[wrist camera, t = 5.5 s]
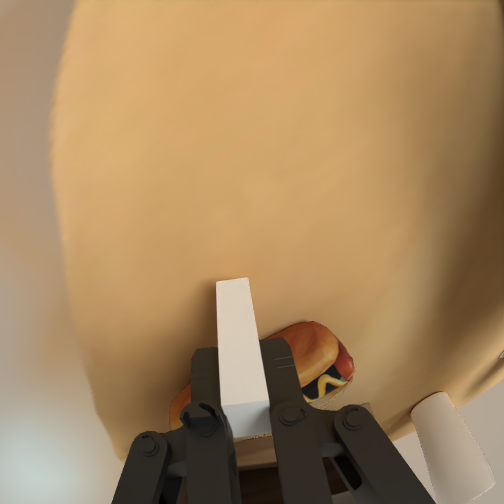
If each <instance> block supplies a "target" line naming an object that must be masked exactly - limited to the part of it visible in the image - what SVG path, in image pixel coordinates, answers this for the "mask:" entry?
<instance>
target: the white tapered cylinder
mask: <svg viewBox="0 0 504 504" xmlns="http://www.w3.org/2000/svg"><path fill="white" fill-rule="evenodd" d="M411 419H412V421H413V424H414V426H415V428H416V431H417V434H418V437H419V440H420V444H421V447H422V450H423V453H424V457H425V460H426V464H427V467H428V471H429V475H430V478H431V482H432V486H433V489H434V492H435V495H436V498H437V500H438V503H439V504H467V503H469V502H470V501H472V500H474V499H476V498H477V497H479V496H480V495H482V494H483V493H485V492H486V491H488V490H489V489H490V488H492V487H493V486H494V485H495V484H496V482H495V479H494V476H493V473H492V470H491V468H490V465H489V463H488V461H487V459H486V457H485V455H484V453H483V452H482V450H481V448H480V446H479V445H478V443H477V442H476V440H475V438H474V437H473V435H472V433H471V432H470V430H469V429H468V427H467V425H466V424H465V422H464V421H463V419H462V418H461V416H460V414H459V413H458V411H457V410H456V408H455V407H454V405H453V403H452V401H451V399H450V398H449V396H448V394H447V393H445V392H438V393H435V394H433V395H431V396H429V397H427V398H425V399H424V400H422V401H421V402H420V403H418V404H417V405H416V406H415V407H414V408H413V410H412V412H411Z"/></svg>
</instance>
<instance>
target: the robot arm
mask: <svg viewBox="0 0 504 504" xmlns="http://www.w3.org/2000/svg"><path fill="white" fill-rule="evenodd" d="M216 299H217V329H218V347H210V348H201V349H197V350H196V352H195V354H194V355H193V357H192V363H191V371H192V372H191V403H189V404H187V405H186V406H185V407H184V408H183V410H182V411H181V413H180V417H179V418H180V420H181V422H182V423H183V425H182V426H181V427H180V428H178V429H175V430H173V431H170V432H167V433H164V434H159V433H157V432H155V431H146V432H143V433H141V434H139V435H138V436H137V437H136V438H135V439H134V441H133V443H132V445H131V448H130V451H129V454H128V456H127V459H126V462H125V465H124V468H123V471H122V474H121V477H120V480H119V482H118V486H117V488H116V491H115V494H114V497H113V500H112V503H111V504H181V500H182V496H183V492H184V488H185V484H186V480H187V503H188V504H242V501H241V492H240V484H239V475H238V466H237V456H236V450H235V447H234V441H233V437H234V438H236V437H245V436H253V435H260V434H267V433H272V436H273V441H274V449H275V454H276V460H277V466H278V472H279V478H280V483H281V489H282V495H283V500H284V504H333V500H332V496H331V492H330V488H329V484H328V480H327V476H326V472H325V468H324V464H323V460H322V457H329V458H330V460H331V461H332V463H333V465H334V466H335V468H336V470H337V471H338V473H339V475H340V476H341V478H342V480H343V481H344V483H345V484H346V486H347V488H348V489H349V491H350V493H351V494H352V496H353V497H354V499H355V501H356V502H357V504H436V503H435V502H434V500H433V499H432V497H431V496H430V495H429V493H428V492H427V490H426V489H425V488H424V486H423V485H422V483H421V482H420V481H419V480H418V478H417V477H416V475H415V474H414V473H413V471H412V470H411V468H410V467H409V465H408V464H407V463H406V461H405V460H404V459H403V458H402V456H401V454H400V453H399V452H398V450H397V449H396V448H395V446H394V445H393V443H392V442H391V441H390V439H389V438H388V436H387V435H386V434H385V432H384V431H383V430H382V428H381V427H380V425H379V424H378V423H377V421H376V420H375V418H374V417H373V416H372V414H371V413H370V412H369V411H368V410H367V409H366V408H365V407H362V406H360V405H348V406H344V407H343V408H341V409H340V410H339V411H330V410H321V409H317V408H314V407H312V406H311V405H310V404H308V403H307V401H306V400H305V398H304V396H303V393H302V389H301V385H300V381H299V377H298V374H297V370H296V366H295V362H294V358H293V355H292V351H291V347H290V345H289V344H288V342H287V341H286V340H285V339H284V338H283V337H277V338H271V339H265V340H258V334H257V328H256V322H255V316H254V310H253V304H252V299H251V293H250V287H249V281H248V277H246V278H239V279H232V280H225V281H218V282H216Z"/></svg>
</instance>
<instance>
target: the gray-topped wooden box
mask: <svg viewBox="0 0 504 504" xmlns="http://www.w3.org/2000/svg"><path fill="white" fill-rule="evenodd" d="M360 406H362V407H365V408H366V409H367V410H368V411H369V412H370V413H371V414H372V416H373V417H374V415H373V412H372V410H371V407H370V404H369V403H366V404H362V405H360ZM374 418H375V417H374ZM234 447H235V450H236V456H237V466H238V475H239V484H240V492H241V501H242V504H284V500H283V495H282V489H281V483H280V478H279V472H278V466H277V460H276V454H275V449H274V441H273V436H270V437H263V438H256V439H248V440H241V441H237V442H234ZM322 460H323V464H324V468H325V472H326V476H327V480H328V484H329V488H330V492H331V496H332V500H333V504H357V502H356V501H355V499H354V497H353V496H352V494H351V493H350V491H349V489H348V488H347V486H346V484H345V483H344V481H343V480H342V478H341V476H340V475H339V473H338V471H337V470H336V468H335V466H334V465H333V463H332V461H331V460H330V458H329V457H322ZM181 504H188V503H187V480H186V484H185V488H184V492H183V496H182V500H181Z"/></svg>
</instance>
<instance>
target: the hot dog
mask: <svg viewBox="0 0 504 504" xmlns="http://www.w3.org/2000/svg"><path fill="white" fill-rule="evenodd" d="M277 337H283V338H284V339H285V340H286V341H287V342H288V344H289V345H290V347H291V351H292V355H293V358H294V362H295V366H296V370H297V374H298V377H299V381H300V385H301V389H302V393H303V396H304V398H305V400H306V401H307V403H308V404H310V405H311V406H312V407H314V408H319V407H321V406H322V405H324V404H326V403H328V402H330V401H331V400H332V399H334V398H335V397H336V396H337V395H339V394H340V393H341V392H342V391H344V390H345V389H346V388H347V387H348V386H349V384H350V383H351V382H352V379H353V374H354V372H355V368H354V363H353V359H352V357H351V356H350V355H349V353H348V352H347V350H346V348H345V347H344V346H343V344H342V343H341V342H340V341H339V339H338V338H337V337H336V336H335V335H334V334H333V333H332V332H331V331H330V330H329V329H328V328H327V327H325V326H323V325H321V324H319V323H316V322H314V321H311V322H306V323H301V324H296V325H292V326H290V327H288V328H287V329H285V330H283V331H281V332H279V333H277V334H275V335H273V336H270V337H268V338H266V339H271V338H277ZM264 340H265V339H264ZM189 403H191V383H189V384H188V385H187V386H186V387H185V388H184V389H183V390H182V391H181V392H180V393H179V394H178V395H177V396H176V397H175V398H174V399H173V400H172V401H171V406H170V412H169V422H170V427H171V430H172V431H173V430H175V429H178V428H180V427H181V426H182V425H183V423H182V422H181V420H180V418H179V417H180V413H181V411H182V410H183V408H184V407H185V406H186V405H187V404H189ZM254 436H257V435H253V436H245V437H236V438H234V437H233V441H234V442H237V441H241V440H244V439H247V438H251V437H254Z"/></svg>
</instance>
